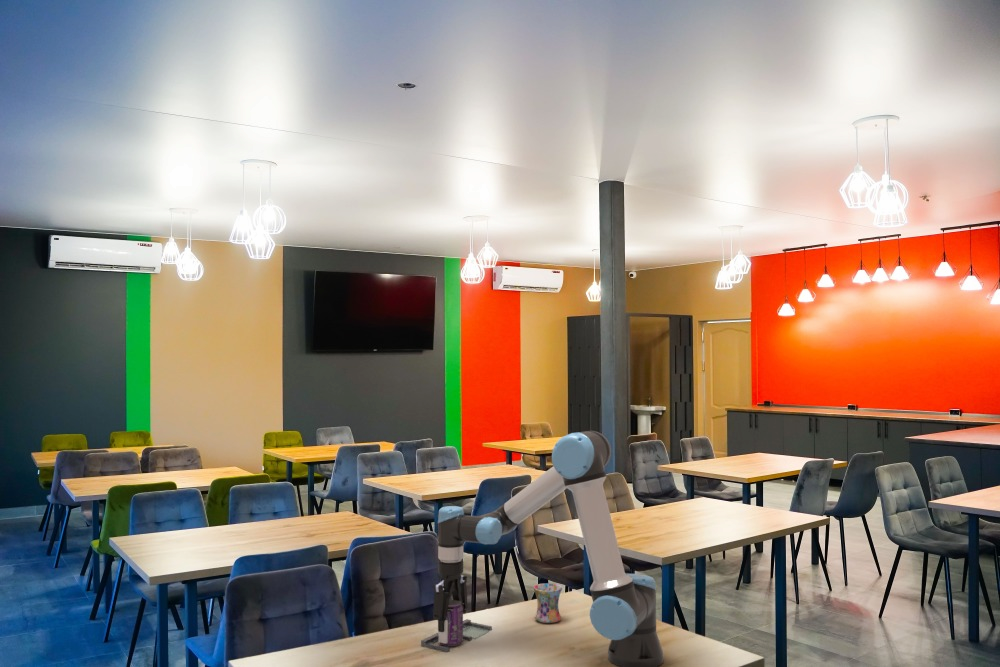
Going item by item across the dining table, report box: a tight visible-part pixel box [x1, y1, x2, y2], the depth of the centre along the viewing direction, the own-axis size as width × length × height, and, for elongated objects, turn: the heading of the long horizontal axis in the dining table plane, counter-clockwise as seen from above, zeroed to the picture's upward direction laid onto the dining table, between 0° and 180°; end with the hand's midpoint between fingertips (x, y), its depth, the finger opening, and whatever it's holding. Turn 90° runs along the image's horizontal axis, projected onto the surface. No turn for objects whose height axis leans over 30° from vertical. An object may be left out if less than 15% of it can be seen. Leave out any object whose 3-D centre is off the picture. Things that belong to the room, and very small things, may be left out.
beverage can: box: [438, 599, 464, 647], centre depth 226 cm, size 7×7×12 cm
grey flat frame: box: [420, 619, 493, 653], centre depth 231 cm, size 10×23×2 cm, turn 147°
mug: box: [533, 582, 563, 624], centre depth 248 cm, size 12×9×11 cm
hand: (450, 638), depth 225 cm, fingers closed on beverage can, 7 cm apart
